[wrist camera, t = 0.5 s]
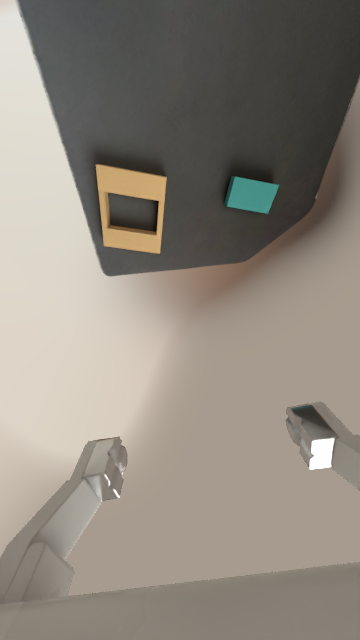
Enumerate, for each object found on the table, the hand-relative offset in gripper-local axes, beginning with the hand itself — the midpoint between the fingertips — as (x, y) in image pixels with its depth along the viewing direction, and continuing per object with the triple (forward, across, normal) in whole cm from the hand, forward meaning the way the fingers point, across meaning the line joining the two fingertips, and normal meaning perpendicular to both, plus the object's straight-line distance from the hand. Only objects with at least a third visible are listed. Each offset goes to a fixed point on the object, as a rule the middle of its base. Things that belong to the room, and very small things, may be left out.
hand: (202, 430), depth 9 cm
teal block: (+45, -19, -15) cm, 51 cm away
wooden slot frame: (+46, +8, -17) cm, 49 cm away
